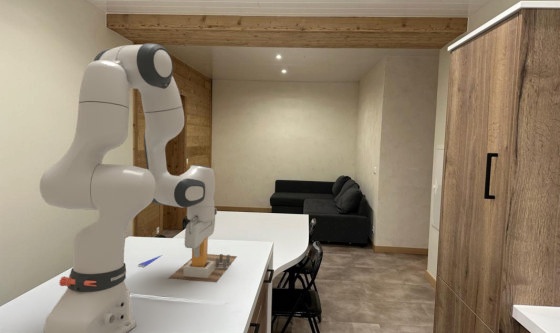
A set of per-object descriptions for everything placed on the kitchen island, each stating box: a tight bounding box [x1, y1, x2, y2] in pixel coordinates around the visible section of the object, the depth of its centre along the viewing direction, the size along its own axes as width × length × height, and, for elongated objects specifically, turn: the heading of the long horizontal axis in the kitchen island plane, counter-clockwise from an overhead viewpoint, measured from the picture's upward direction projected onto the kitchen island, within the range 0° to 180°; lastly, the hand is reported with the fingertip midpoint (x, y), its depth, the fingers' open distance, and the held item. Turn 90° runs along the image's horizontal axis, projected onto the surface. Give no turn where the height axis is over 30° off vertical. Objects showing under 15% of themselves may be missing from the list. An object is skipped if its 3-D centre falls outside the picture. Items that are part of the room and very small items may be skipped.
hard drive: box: [137, 254, 163, 268], centre depth 136 cm, size 2×8×12 cm
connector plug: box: [191, 237, 209, 267], centre depth 124 cm, size 4×4×10 cm
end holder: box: [183, 260, 215, 278], centre depth 124 cm, size 8×8×3 cm
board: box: [168, 253, 238, 283], centre depth 131 cm, size 28×16×5 cm, turn 173°
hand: (199, 253), depth 124 cm, fingers closed on connector plug, 4 cm apart
